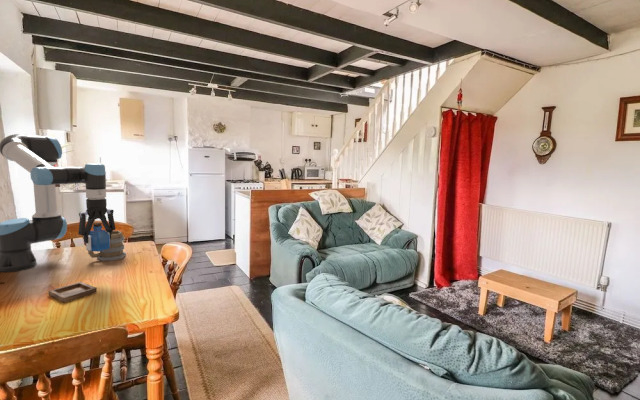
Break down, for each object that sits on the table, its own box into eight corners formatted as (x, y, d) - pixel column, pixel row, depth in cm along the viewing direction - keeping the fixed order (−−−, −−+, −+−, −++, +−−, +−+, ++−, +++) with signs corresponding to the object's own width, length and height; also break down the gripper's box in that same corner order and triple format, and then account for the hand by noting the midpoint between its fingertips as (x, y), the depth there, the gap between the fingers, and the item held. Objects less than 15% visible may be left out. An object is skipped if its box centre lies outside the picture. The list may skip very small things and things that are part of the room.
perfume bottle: (98, 251, 148) (97, 225, 146) (86, 250, 149) (85, 224, 148) (109, 248, 154) (108, 222, 153) (98, 246, 155) (97, 221, 154)
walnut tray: (48, 295, 135) (48, 290, 134) (81, 285, 145) (81, 281, 145) (64, 302, 129) (63, 298, 129) (96, 292, 140) (96, 287, 139)
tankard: (118, 252, 193) (118, 227, 191) (129, 257, 186) (128, 231, 184) (78, 260, 177) (77, 232, 175) (88, 265, 170) (86, 237, 168)
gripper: (75, 201, 138) (78, 254, 141) (123, 197, 156) (125, 244, 159) (66, 199, 141) (68, 251, 144) (114, 195, 159) (115, 241, 162)
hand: (98, 247), depth 152 cm, fingers closed on perfume bottle, 7 cm apart
